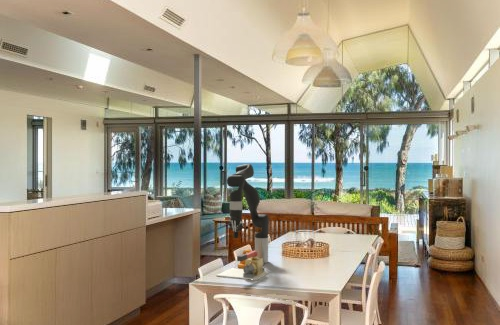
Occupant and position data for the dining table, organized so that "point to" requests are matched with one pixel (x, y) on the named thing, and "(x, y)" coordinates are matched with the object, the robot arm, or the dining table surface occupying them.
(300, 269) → the dining table surface
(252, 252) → the lever
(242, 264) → the bracket
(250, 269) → the valve
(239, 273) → the base plate
